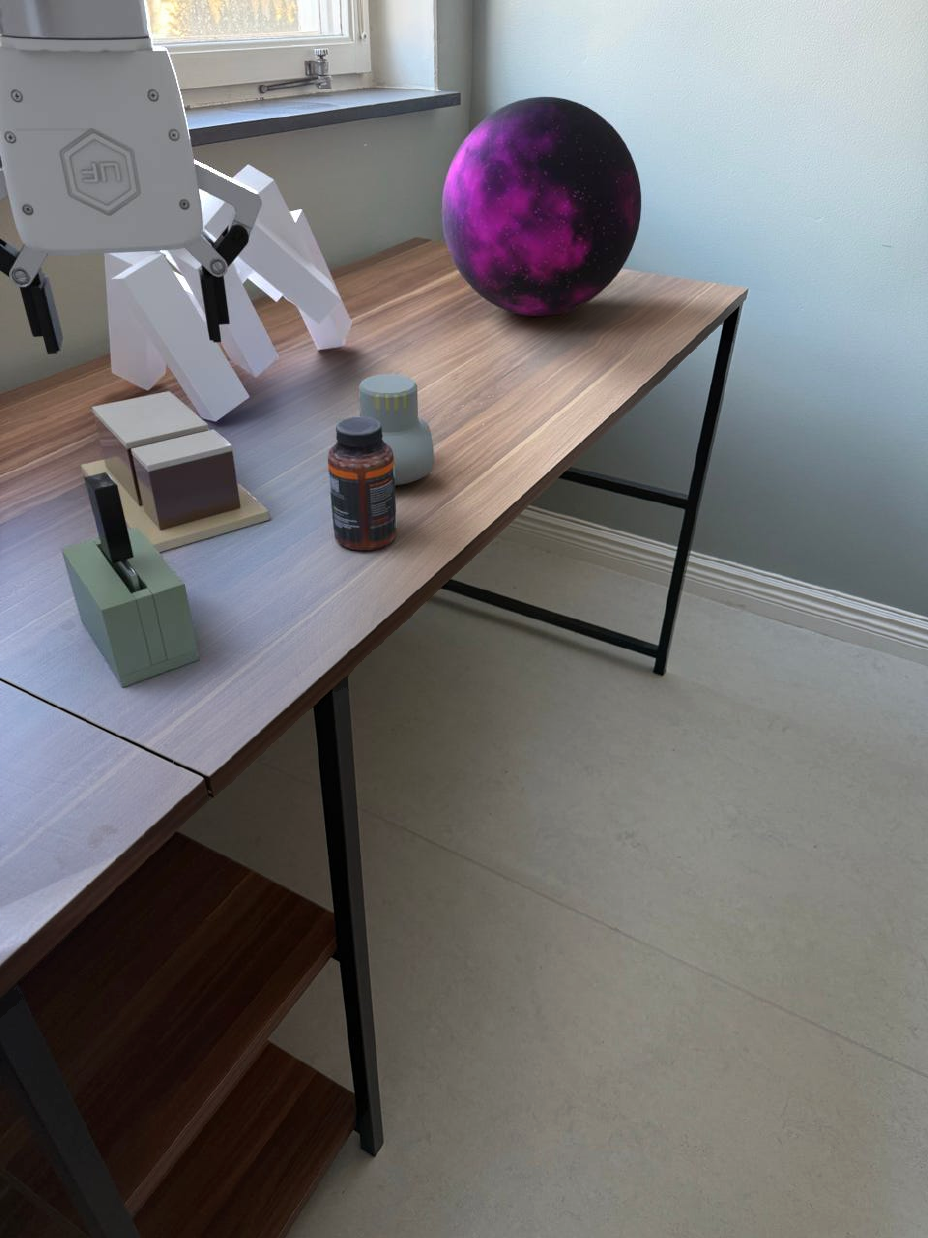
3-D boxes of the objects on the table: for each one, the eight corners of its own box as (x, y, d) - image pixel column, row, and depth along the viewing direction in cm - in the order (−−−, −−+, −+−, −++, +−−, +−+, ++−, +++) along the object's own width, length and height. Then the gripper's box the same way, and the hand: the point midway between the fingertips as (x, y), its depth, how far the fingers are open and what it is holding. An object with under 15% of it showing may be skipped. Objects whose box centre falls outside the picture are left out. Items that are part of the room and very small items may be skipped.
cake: (148, 555, 80) (132, 480, 76) (82, 473, 93) (65, 404, 89) (270, 519, 86) (261, 447, 82) (192, 446, 99) (180, 381, 95)
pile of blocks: (236, 358, 138) (76, 139, 114) (404, 297, 126) (266, 39, 102) (163, 516, 116) (-53, 287, 92) (357, 460, 105) (168, 182, 81)
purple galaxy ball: (420, 331, 133) (418, 102, 116) (463, 280, 157) (467, 83, 140) (619, 350, 128) (649, 113, 111) (633, 294, 152) (659, 92, 135)
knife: (162, 649, 67) (128, 496, 60) (142, 656, 67) (104, 503, 59) (132, 605, 72) (96, 459, 64) (112, 612, 71) (73, 464, 64)
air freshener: (436, 495, 91) (437, 401, 85) (356, 500, 90) (350, 406, 84) (422, 450, 100) (421, 362, 94) (348, 454, 98) (343, 366, 92)
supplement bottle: (406, 528, 85) (404, 416, 79) (382, 558, 81) (377, 443, 74) (350, 517, 87) (343, 407, 80) (322, 546, 82) (312, 432, 75)
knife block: (200, 659, 68) (185, 583, 64) (122, 688, 65) (101, 610, 61) (154, 598, 75) (138, 526, 71) (81, 622, 72) (60, 548, 68)
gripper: (-129, 14, 41) (-21, 372, 51) (248, 20, 45) (281, 350, 55) (-96, 10, 47) (-4, 332, 57) (236, 16, 51) (267, 315, 61)
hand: (136, 341), depth 56 cm, fingers open, 9 cm apart
